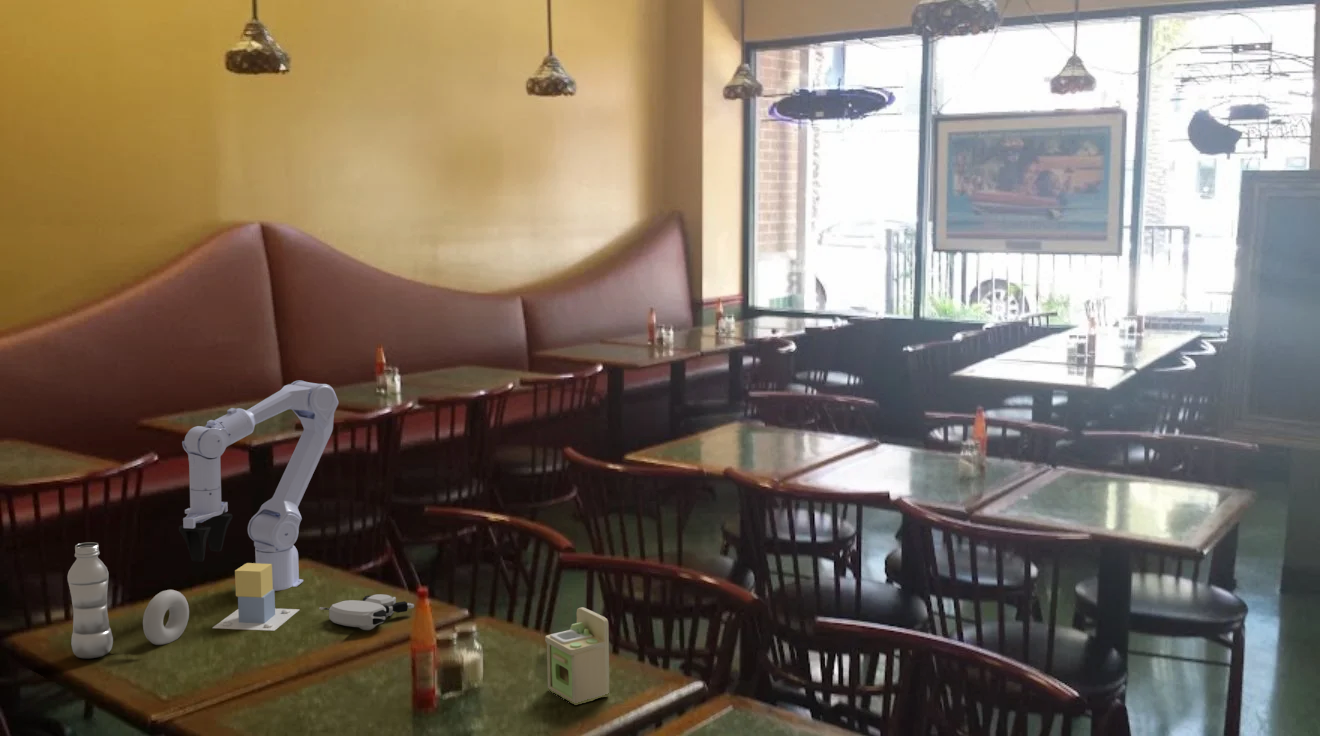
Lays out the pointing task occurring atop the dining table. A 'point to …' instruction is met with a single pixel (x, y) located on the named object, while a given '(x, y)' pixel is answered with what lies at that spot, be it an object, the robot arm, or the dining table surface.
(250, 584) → the mustard block
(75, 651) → the plastic bottle
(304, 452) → the robot arm
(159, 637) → the donut
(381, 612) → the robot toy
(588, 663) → the toy sink
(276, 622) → the plate
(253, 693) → the dining table surface
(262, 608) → the slate block
